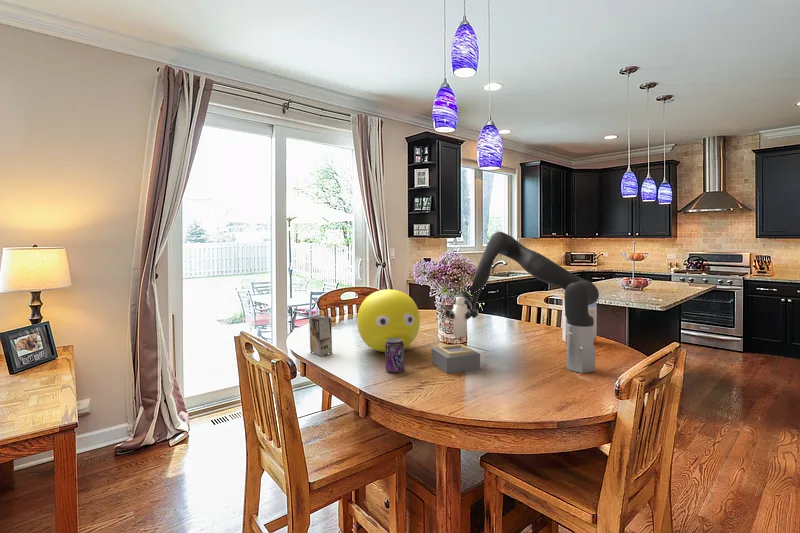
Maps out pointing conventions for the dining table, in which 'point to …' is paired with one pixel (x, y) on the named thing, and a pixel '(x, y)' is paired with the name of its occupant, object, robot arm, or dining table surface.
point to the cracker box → (592, 312)
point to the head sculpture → (388, 318)
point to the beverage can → (394, 355)
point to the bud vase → (459, 318)
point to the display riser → (455, 358)
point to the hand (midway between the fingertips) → (459, 316)
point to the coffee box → (320, 335)
